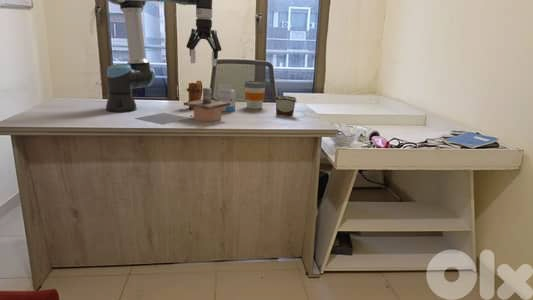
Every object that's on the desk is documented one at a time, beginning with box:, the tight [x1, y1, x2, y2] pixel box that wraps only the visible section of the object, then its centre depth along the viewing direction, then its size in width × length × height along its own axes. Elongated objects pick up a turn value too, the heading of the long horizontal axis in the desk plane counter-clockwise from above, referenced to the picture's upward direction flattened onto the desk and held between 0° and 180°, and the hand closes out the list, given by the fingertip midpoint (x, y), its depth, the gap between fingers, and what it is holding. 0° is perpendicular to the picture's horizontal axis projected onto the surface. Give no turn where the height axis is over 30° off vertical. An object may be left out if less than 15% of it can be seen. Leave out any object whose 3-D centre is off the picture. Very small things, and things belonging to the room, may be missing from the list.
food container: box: [274, 95, 297, 117], centre depth 209 cm, size 12×6×10 cm, turn 65°
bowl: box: [193, 107, 222, 122], centre depth 190 cm, size 13×13×7 cm
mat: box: [133, 112, 191, 126], centre depth 186 cm, size 19×19×1 cm
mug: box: [186, 80, 203, 110], centre depth 216 cm, size 15×8×15 cm, turn 168°
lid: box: [183, 87, 230, 109], centre depth 188 cm, size 16×16×8 cm
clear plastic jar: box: [217, 83, 236, 113], centre depth 213 cm, size 9×5×15 cm, turn 68°
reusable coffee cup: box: [243, 80, 267, 110], centre depth 226 cm, size 12×13×15 cm
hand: (203, 64), depth 187 cm, fingers open, 13 cm apart
